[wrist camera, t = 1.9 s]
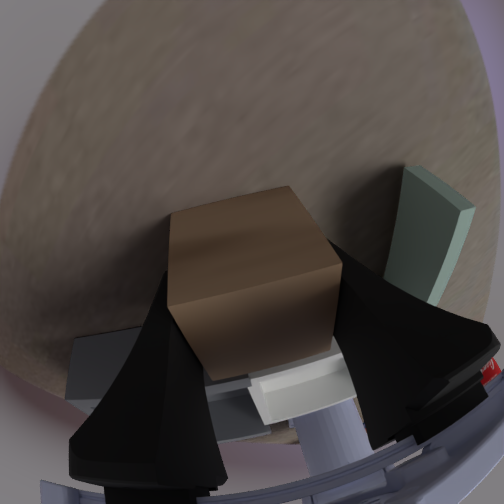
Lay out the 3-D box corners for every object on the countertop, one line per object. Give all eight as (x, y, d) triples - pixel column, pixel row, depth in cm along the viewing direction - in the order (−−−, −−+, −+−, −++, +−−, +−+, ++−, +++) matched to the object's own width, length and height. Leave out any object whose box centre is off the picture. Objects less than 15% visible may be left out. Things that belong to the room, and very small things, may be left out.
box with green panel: (367, 356, 21) (384, 390, 18) (256, 391, 20) (266, 431, 18) (420, 165, 10) (475, 206, 7) (194, 208, 10) (200, 278, 7)
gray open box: (260, 391, 21) (271, 433, 18) (154, 409, 21) (157, 450, 18) (233, 306, 14) (248, 377, 11) (74, 338, 13) (64, 399, 10)
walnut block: (294, 271, 13) (330, 349, 10) (201, 294, 13) (212, 381, 9) (288, 185, 10) (342, 262, 7) (171, 213, 10) (167, 306, 7)
